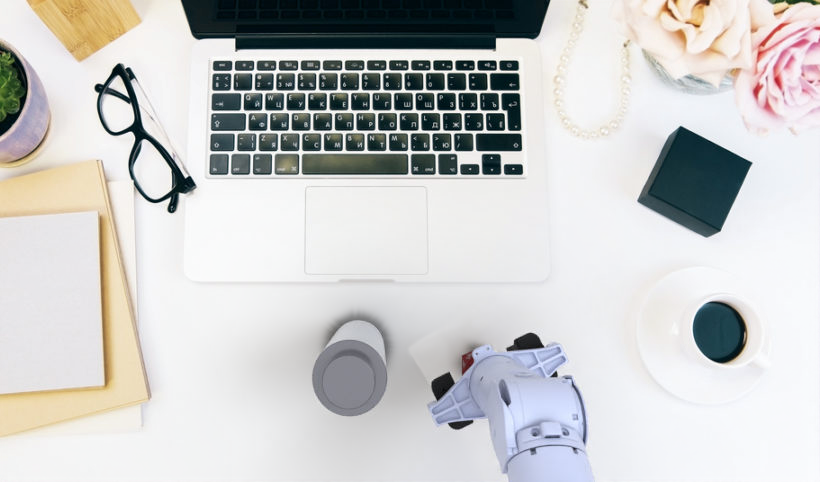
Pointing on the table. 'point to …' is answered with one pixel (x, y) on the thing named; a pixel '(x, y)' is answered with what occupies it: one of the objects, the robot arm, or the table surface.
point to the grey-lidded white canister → (351, 370)
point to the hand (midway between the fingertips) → (482, 370)
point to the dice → (467, 361)
